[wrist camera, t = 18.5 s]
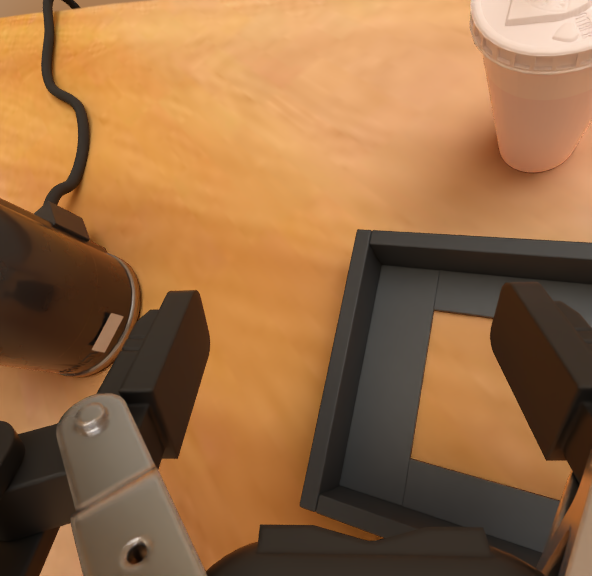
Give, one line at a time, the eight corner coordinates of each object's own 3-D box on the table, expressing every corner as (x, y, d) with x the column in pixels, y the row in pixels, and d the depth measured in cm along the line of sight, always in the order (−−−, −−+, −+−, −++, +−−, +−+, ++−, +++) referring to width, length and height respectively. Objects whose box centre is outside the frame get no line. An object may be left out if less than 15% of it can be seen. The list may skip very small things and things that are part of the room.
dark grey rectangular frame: (323, 496, 22) (298, 506, 19) (371, 252, 25) (356, 228, 22) (719, 634, 15) (777, 684, 12) (722, 280, 18) (770, 252, 15)
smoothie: (449, 141, 25) (420, -133, 13) (549, 71, 24) (621, -301, 12) (522, 218, 22) (574, -39, 10) (639, 143, 21) (859, -250, 9)
